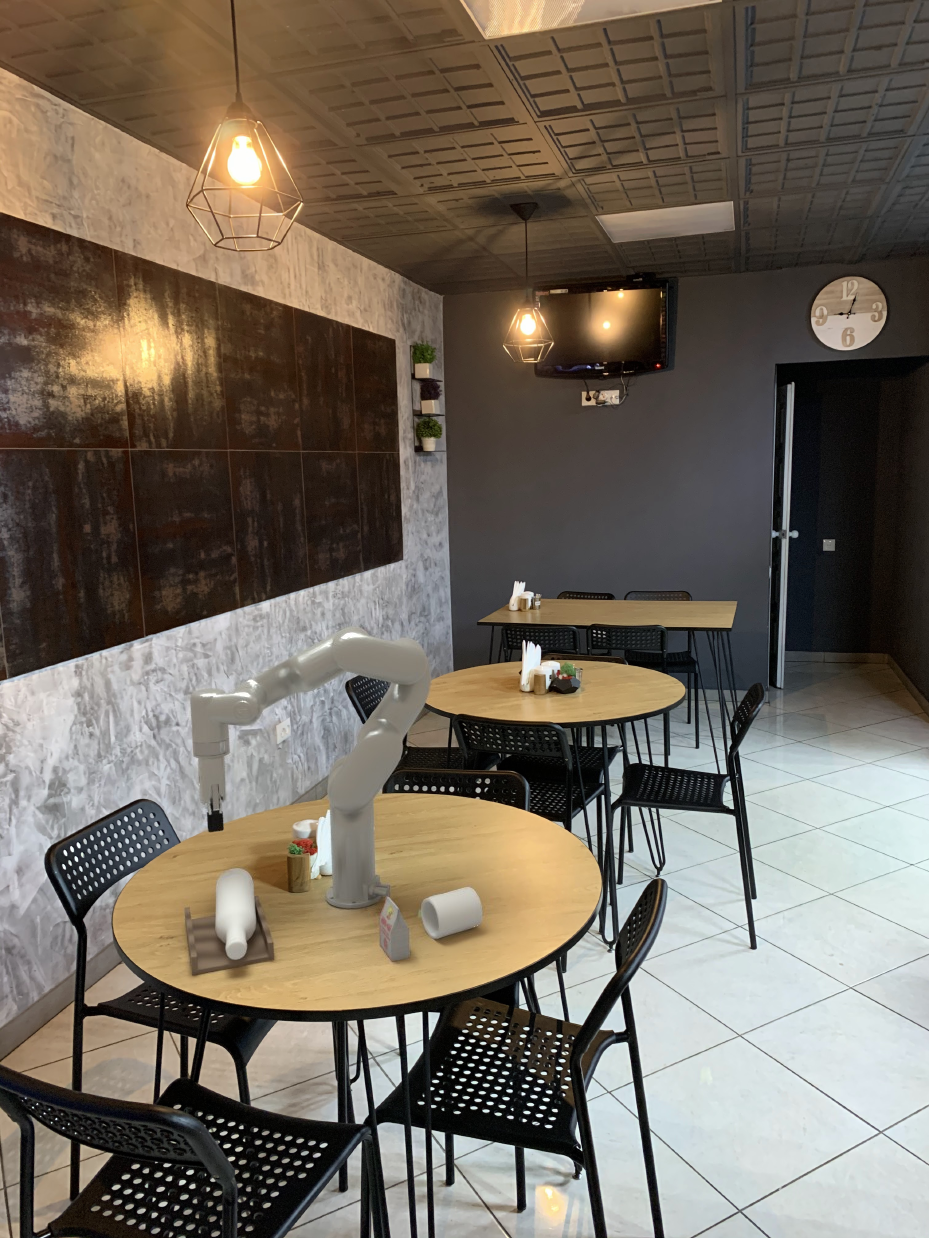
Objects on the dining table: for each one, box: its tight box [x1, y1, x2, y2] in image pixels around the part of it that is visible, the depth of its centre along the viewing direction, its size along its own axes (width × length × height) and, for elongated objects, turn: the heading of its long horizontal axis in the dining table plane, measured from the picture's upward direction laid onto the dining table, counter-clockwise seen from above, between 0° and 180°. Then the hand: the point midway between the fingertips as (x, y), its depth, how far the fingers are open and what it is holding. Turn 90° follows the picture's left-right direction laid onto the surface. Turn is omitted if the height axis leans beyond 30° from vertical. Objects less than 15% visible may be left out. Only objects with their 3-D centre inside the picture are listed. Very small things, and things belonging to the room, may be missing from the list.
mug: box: [420, 886, 484, 940], centre depth 180 cm, size 12×10×8 cm
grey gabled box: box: [378, 895, 411, 962], centre depth 170 cm, size 4×7×10 cm, turn 24°
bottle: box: [215, 867, 256, 960], centre depth 176 cm, size 8×8×30 cm
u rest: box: [184, 895, 275, 976], centre depth 175 cm, size 22×15×4 cm
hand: (215, 830), depth 189 cm, fingers closed
